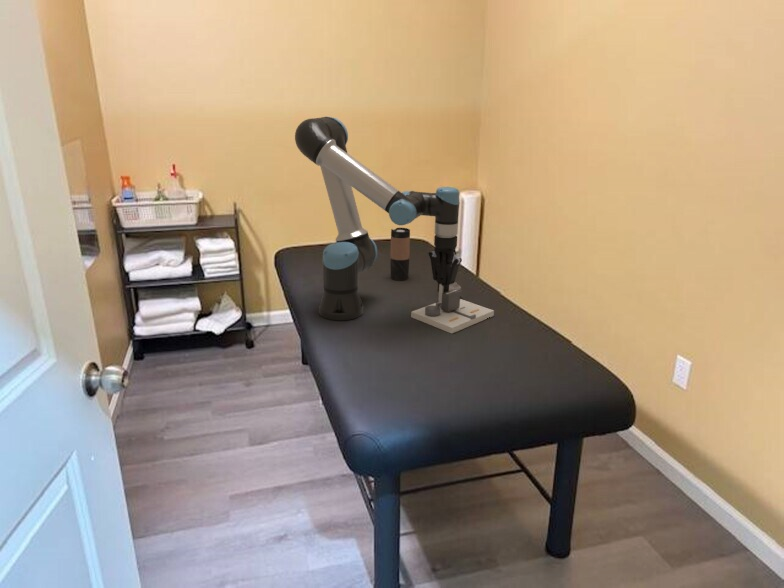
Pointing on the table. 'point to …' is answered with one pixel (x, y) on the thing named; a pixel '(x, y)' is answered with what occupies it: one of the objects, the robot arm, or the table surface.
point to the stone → (455, 287)
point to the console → (452, 316)
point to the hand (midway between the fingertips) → (442, 301)
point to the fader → (450, 300)
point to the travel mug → (400, 253)
